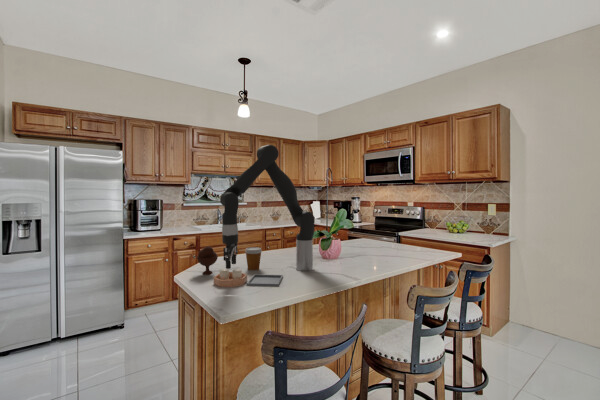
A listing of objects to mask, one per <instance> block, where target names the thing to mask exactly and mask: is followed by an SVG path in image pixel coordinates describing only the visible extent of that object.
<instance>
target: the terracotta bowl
mask: <svg viewBox="0 0 600 400" xmlns="http://www.w3.org/2000/svg"><path fill="white" fill-rule="evenodd" d="M247 282H248V274H247V273H244V272H242V278H240V279H235V280H232V271H229V280H220V273H217V274H216V275H215V276H214V277H213V285H216V286H217V287H221V288H234V287H238V286H239V287H240V286H244V284H246V283H247Z"/></svg>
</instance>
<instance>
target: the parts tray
mask: <svg viewBox="0 0 600 400" xmlns="http://www.w3.org/2000/svg"><path fill="white" fill-rule="evenodd" d="M283 277H284V275H283V274H260V273H259V274H258V273H257V274H253V275H252V276H251V277H250V279H249V280H247V281H246V282H245V284H246V286H253V287H255V286H258V287H279V286H280V283H281V282H282V279H283Z"/></svg>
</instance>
